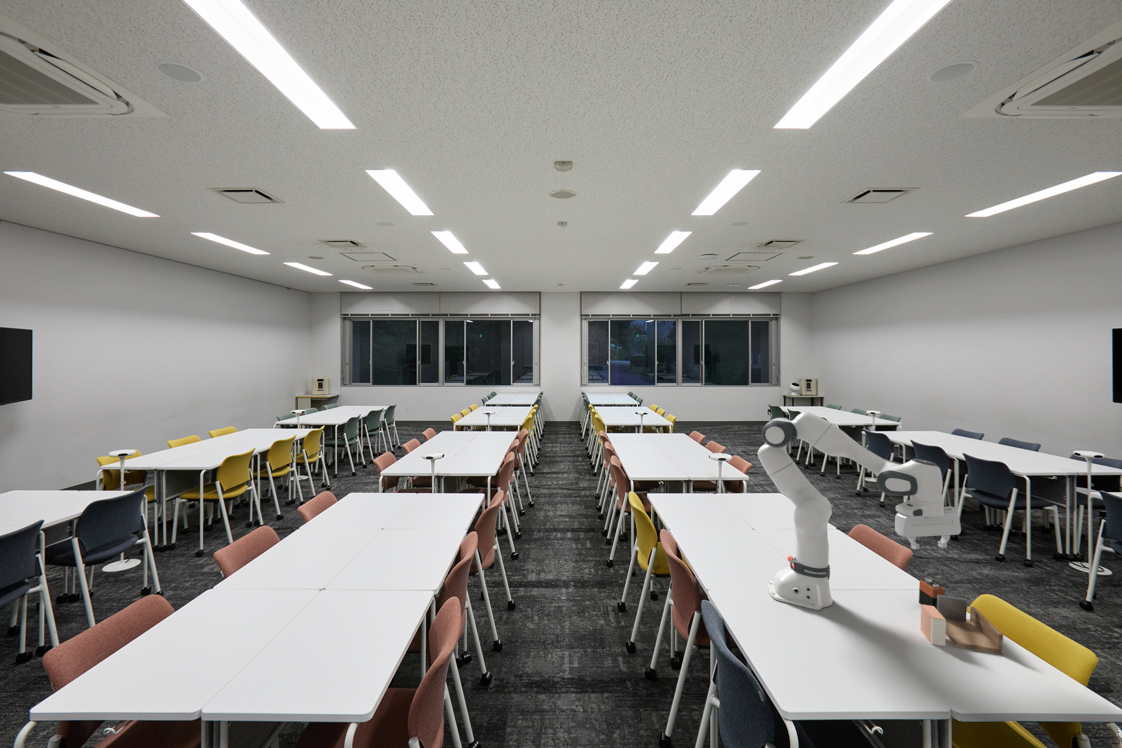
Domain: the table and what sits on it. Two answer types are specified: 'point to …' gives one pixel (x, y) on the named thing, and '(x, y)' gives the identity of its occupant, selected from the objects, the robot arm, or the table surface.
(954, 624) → the shelf
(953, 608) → the grey flat square slab
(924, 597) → the battery
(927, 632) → the rectangular block
